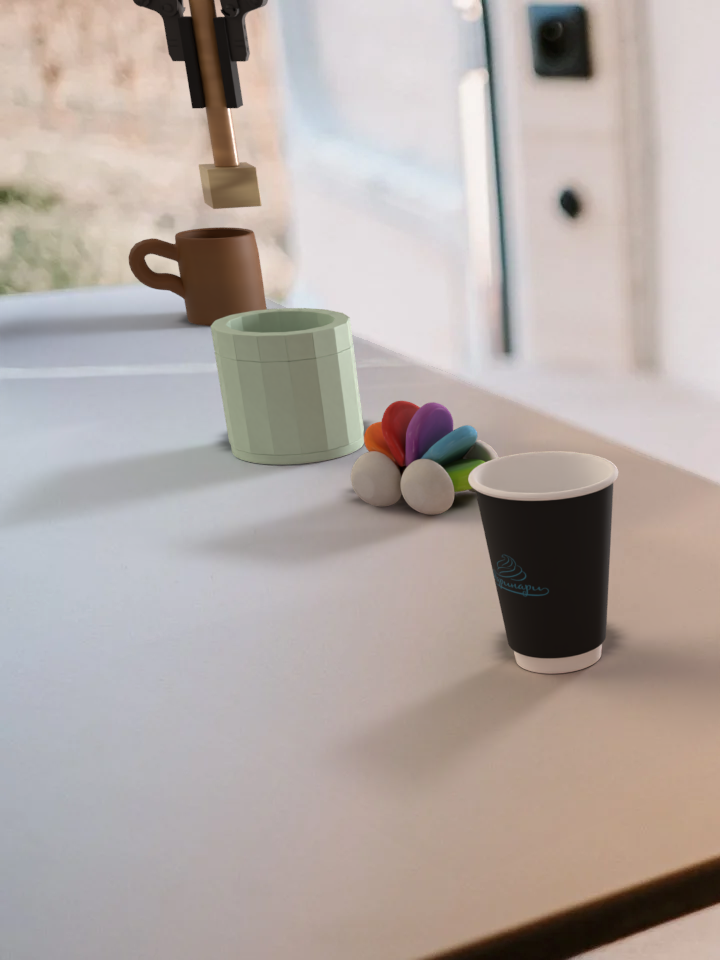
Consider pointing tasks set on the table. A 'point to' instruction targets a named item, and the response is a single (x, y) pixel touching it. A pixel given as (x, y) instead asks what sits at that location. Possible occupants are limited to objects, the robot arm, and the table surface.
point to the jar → (289, 385)
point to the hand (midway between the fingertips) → (217, 106)
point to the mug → (207, 271)
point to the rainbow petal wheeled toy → (417, 458)
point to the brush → (219, 123)
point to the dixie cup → (549, 553)
